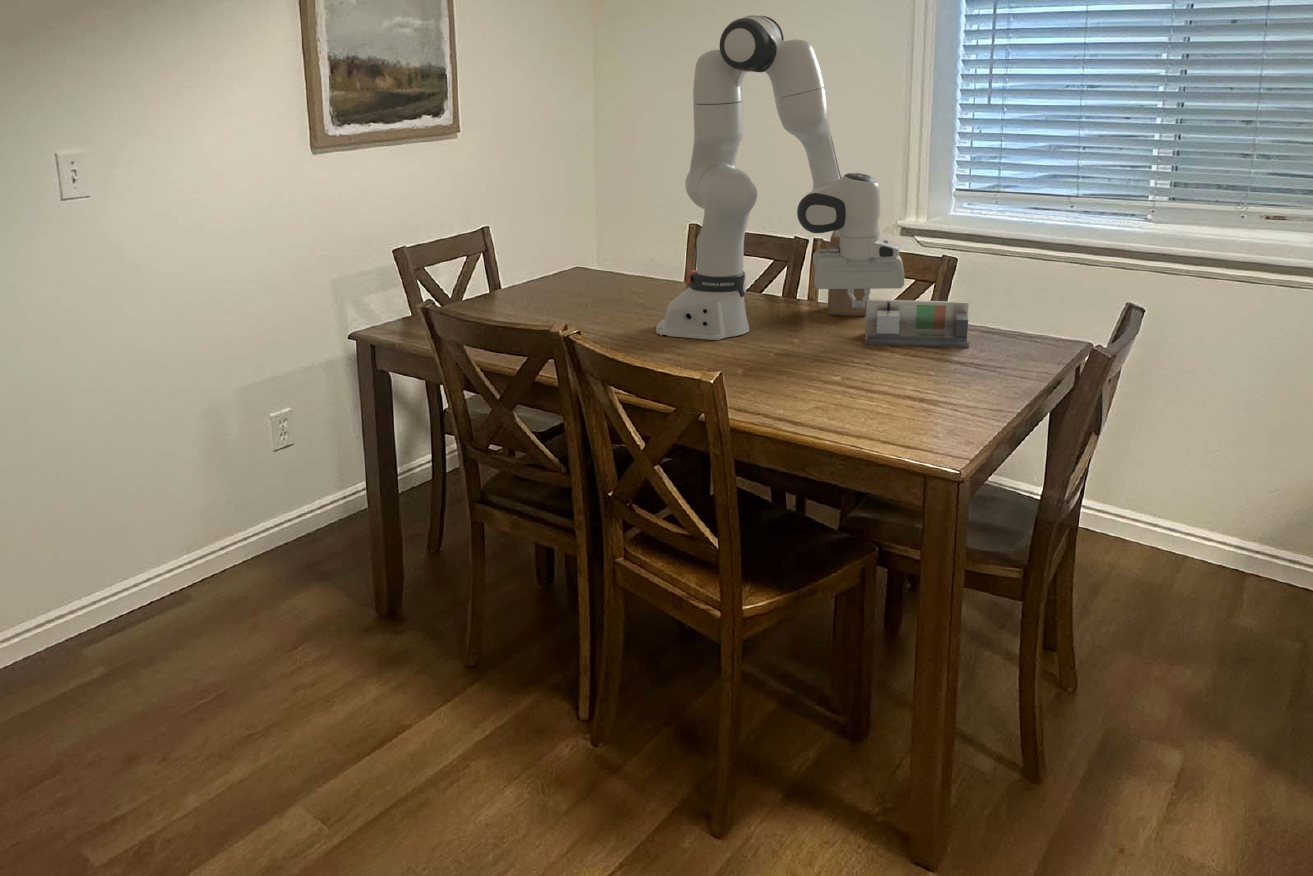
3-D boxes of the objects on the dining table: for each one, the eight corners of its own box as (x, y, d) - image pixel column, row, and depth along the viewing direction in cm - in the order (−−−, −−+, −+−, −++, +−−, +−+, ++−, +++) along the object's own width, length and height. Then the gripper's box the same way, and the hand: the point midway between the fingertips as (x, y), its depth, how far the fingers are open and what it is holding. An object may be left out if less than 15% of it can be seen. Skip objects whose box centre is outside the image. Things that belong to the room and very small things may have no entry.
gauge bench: (864, 344, 257) (866, 309, 254) (865, 333, 266) (866, 299, 263) (968, 347, 253) (971, 311, 250) (965, 335, 262) (968, 301, 259)
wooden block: (867, 317, 280) (871, 237, 273) (827, 316, 282) (830, 236, 275) (868, 307, 290) (872, 229, 283) (829, 306, 291) (832, 229, 284)
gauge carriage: (876, 337, 257) (877, 309, 255) (876, 329, 263) (877, 302, 261) (898, 337, 256) (900, 309, 254) (898, 330, 262) (899, 303, 260)
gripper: (812, 250, 252) (812, 310, 257) (905, 249, 248) (903, 310, 253) (813, 245, 258) (813, 303, 262) (905, 243, 254) (903, 303, 259)
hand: (858, 307), depth 258 cm, fingers closed
